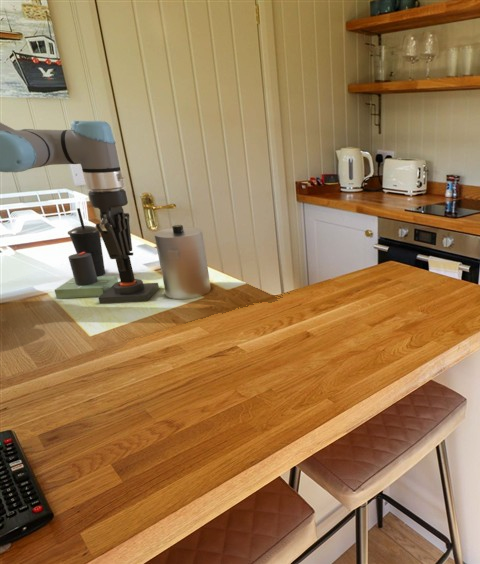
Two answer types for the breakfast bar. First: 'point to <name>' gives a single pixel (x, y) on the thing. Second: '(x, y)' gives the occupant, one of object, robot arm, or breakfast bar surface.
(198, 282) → the metal canister
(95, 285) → the dial panel
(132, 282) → the power switch
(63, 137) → the robot arm
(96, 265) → the drinking cup
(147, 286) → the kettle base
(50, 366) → the breakfast bar surface
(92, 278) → the dial
